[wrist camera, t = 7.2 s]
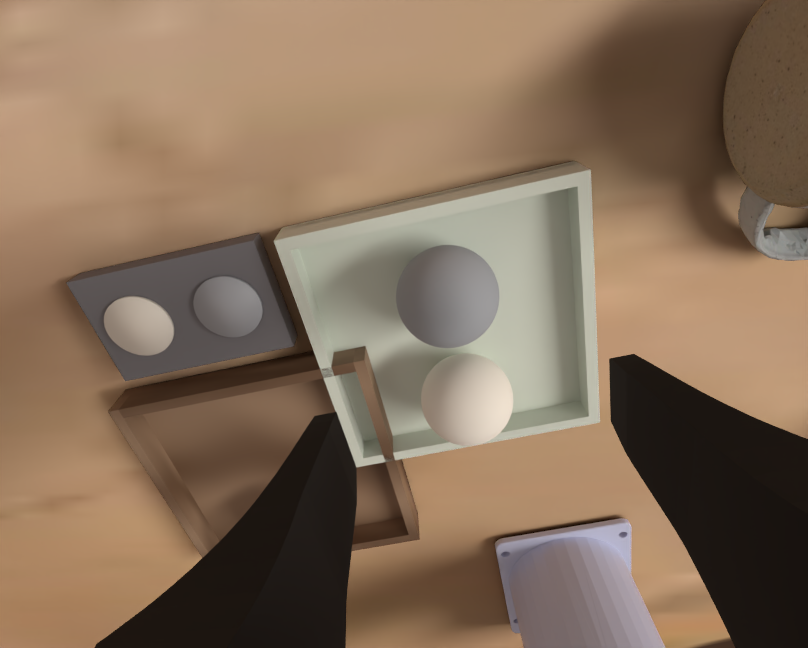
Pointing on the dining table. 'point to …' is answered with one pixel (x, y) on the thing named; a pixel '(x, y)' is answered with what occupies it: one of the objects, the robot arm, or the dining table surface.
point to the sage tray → (507, 335)
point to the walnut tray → (256, 444)
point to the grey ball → (447, 296)
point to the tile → (187, 307)
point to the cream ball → (467, 399)
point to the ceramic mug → (771, 124)
